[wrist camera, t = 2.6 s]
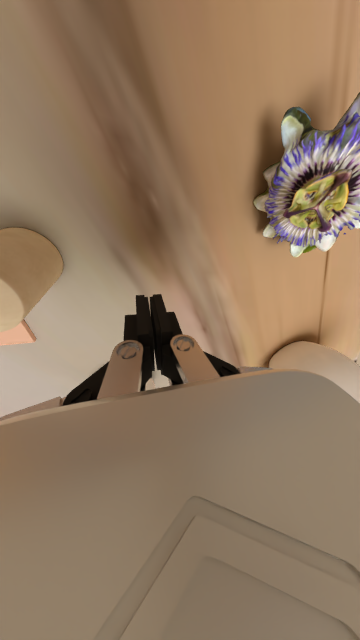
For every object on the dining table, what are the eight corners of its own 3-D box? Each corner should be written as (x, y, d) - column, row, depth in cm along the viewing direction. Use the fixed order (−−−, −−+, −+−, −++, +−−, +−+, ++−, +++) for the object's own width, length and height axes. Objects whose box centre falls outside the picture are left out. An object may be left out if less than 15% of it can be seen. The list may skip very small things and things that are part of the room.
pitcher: (261, 346, 36) (442, 561, 15) (329, 322, 37) (599, 498, 16) (254, 391, 52) (338, 529, 31) (302, 374, 52) (418, 498, 31)
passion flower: (236, 199, 22) (254, 115, 11) (326, 139, 19) (487, -76, 7) (269, 273, 23) (316, 267, 12) (359, 229, 20) (544, 162, 9)
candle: (-14, 217, 14) (-192, 247, 6) (62, 237, 16) (-2, 278, 8) (3, 276, 17) (-105, 345, 9) (65, 287, 19) (20, 350, 11)
